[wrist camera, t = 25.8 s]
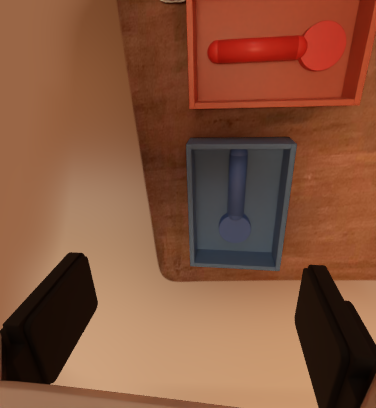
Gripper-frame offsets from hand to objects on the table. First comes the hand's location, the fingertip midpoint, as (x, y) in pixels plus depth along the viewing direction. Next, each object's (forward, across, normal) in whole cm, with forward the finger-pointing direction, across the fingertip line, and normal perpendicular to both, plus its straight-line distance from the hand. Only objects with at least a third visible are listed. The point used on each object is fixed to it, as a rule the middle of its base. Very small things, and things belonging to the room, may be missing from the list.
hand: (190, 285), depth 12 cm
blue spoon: (+25, -3, +6) cm, 26 cm away
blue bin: (+25, -3, +7) cm, 26 cm away
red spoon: (+25, -6, -11) cm, 28 cm away
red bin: (+25, -6, -11) cm, 28 cm away
